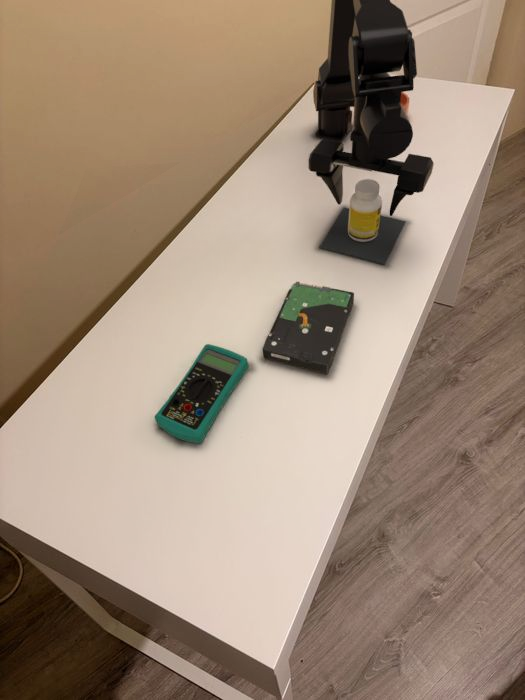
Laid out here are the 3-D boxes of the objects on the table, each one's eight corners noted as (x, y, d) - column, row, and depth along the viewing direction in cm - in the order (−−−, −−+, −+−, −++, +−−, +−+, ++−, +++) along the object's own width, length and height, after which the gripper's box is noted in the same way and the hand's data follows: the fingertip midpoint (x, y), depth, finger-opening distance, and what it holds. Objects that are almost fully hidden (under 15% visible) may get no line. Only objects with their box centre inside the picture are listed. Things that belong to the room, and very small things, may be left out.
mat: (319, 248, 88) (319, 246, 88) (343, 208, 94) (343, 207, 94) (384, 265, 84) (384, 263, 84) (405, 222, 90) (405, 221, 90)
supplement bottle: (380, 242, 87) (386, 195, 80) (349, 243, 88) (352, 197, 80) (376, 222, 91) (381, 175, 83) (346, 224, 91) (349, 177, 83)
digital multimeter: (155, 429, 69) (149, 418, 67) (209, 351, 77) (206, 339, 74) (199, 449, 67) (194, 439, 64) (251, 366, 74) (248, 355, 72)
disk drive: (329, 376, 72) (354, 302, 80) (329, 365, 70) (355, 290, 78) (262, 360, 75) (292, 290, 83) (261, 349, 73) (292, 278, 80)
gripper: (452, 102, 73) (432, 192, 86) (333, 86, 80) (331, 172, 92) (431, 142, 68) (414, 232, 80) (306, 121, 74) (307, 207, 86)
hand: (365, 208), depth 85 cm, fingers open, 9 cm apart
